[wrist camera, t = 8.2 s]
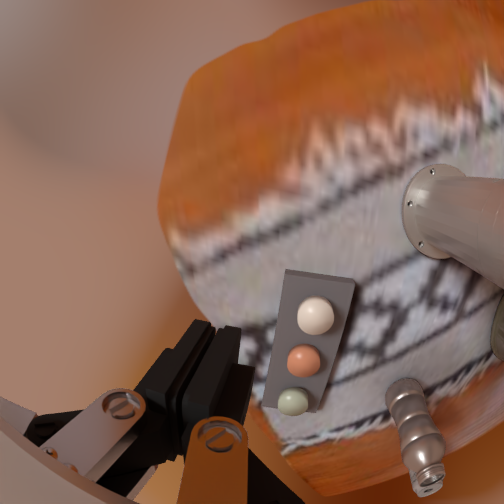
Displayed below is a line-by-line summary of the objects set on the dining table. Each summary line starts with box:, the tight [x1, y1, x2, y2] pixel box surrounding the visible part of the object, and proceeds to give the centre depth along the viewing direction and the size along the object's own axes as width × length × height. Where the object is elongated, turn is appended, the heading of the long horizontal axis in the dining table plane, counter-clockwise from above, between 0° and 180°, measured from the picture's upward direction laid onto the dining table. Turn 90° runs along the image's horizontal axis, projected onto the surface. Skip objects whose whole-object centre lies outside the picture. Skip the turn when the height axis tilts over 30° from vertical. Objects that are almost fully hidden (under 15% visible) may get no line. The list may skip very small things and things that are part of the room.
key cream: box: [297, 296, 334, 335], centre depth 34 cm, size 4×4×2 cm
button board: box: [261, 269, 355, 413], centre depth 38 cm, size 9×23×2 cm, turn 173°
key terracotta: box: [287, 344, 320, 377], centre depth 36 cm, size 4×4×2 cm
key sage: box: [278, 387, 308, 416], centre depth 38 cm, size 4×4×2 cm
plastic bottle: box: [385, 378, 446, 488], centre depth 29 cm, size 6×7×20 cm
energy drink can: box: [408, 468, 443, 497], centre depth 34 cm, size 6×6×15 cm
